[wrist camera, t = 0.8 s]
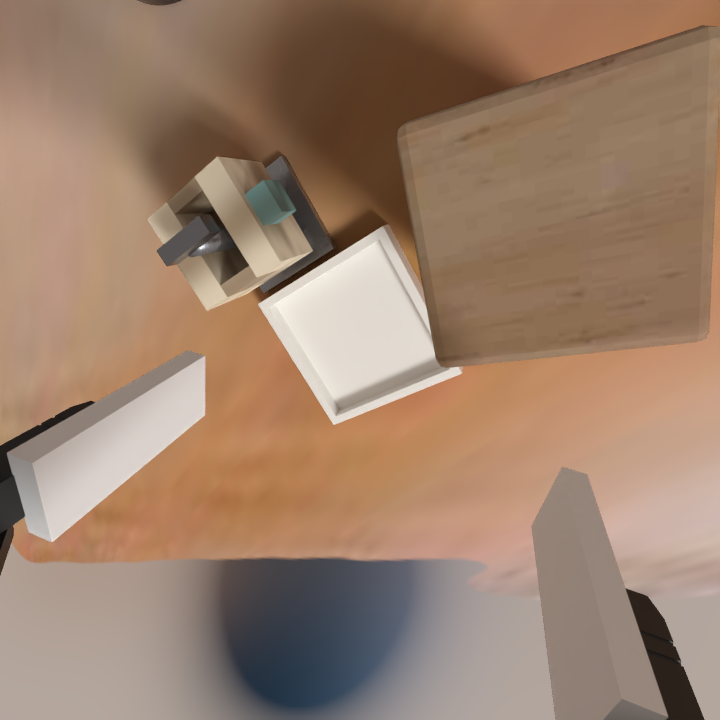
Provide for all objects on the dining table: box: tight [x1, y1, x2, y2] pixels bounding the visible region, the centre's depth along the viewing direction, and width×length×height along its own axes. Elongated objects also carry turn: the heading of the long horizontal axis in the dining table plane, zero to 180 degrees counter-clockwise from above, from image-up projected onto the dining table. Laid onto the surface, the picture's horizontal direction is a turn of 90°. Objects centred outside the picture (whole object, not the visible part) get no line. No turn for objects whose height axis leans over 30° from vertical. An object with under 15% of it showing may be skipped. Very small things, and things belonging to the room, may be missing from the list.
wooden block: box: [396, 25, 720, 368], centre depth 23 cm, size 10×10×20 cm
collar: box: [147, 156, 313, 311], centre depth 32 cm, size 8×10×6 cm
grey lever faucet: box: [157, 156, 337, 293], centre depth 33 cm, size 9×9×14 cm
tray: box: [258, 224, 463, 425], centre depth 39 cm, size 15×15×2 cm
